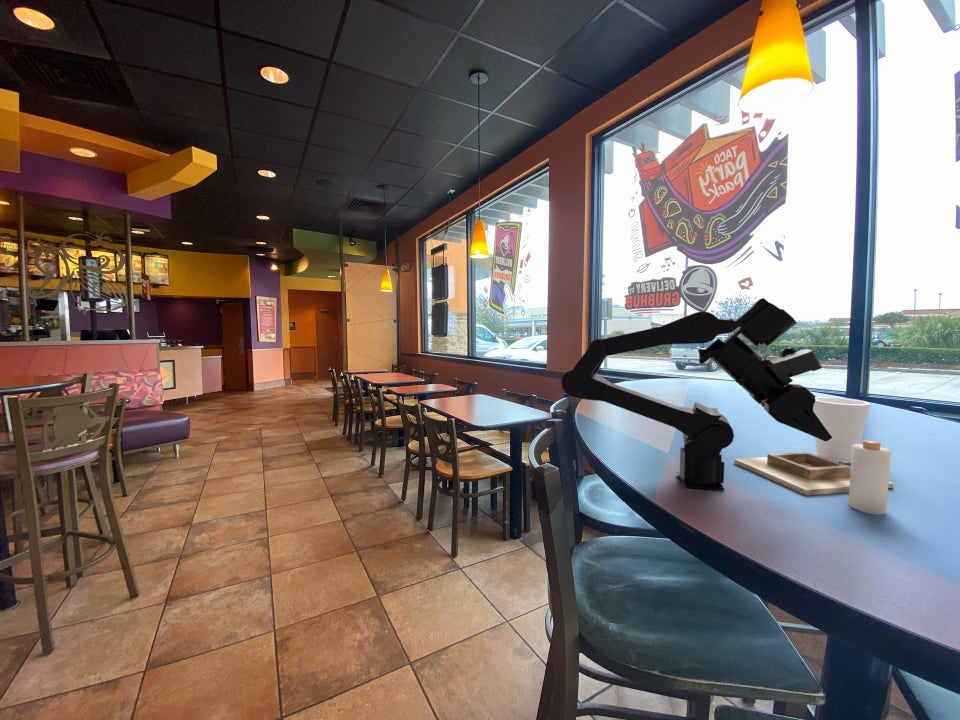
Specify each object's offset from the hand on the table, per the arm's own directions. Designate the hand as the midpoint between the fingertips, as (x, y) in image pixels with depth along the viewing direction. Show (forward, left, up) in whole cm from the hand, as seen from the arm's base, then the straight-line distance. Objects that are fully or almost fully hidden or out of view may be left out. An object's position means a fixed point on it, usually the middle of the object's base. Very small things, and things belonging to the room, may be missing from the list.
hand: (819, 432), depth 64 cm
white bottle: (+6, -2, -12) cm, 14 cm away
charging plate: (+5, +12, -12) cm, 18 cm away
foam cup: (+17, +24, -12) cm, 32 cm away
